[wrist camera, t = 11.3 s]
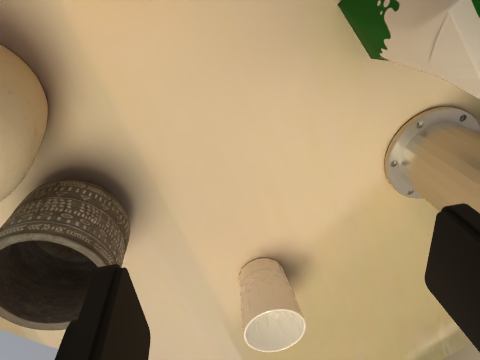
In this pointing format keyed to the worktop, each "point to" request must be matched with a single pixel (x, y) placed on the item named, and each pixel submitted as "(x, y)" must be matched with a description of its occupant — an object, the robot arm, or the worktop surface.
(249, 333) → the white cup
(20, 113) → the jug
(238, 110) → the worktop surface
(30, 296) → the planter
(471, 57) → the milk carton
